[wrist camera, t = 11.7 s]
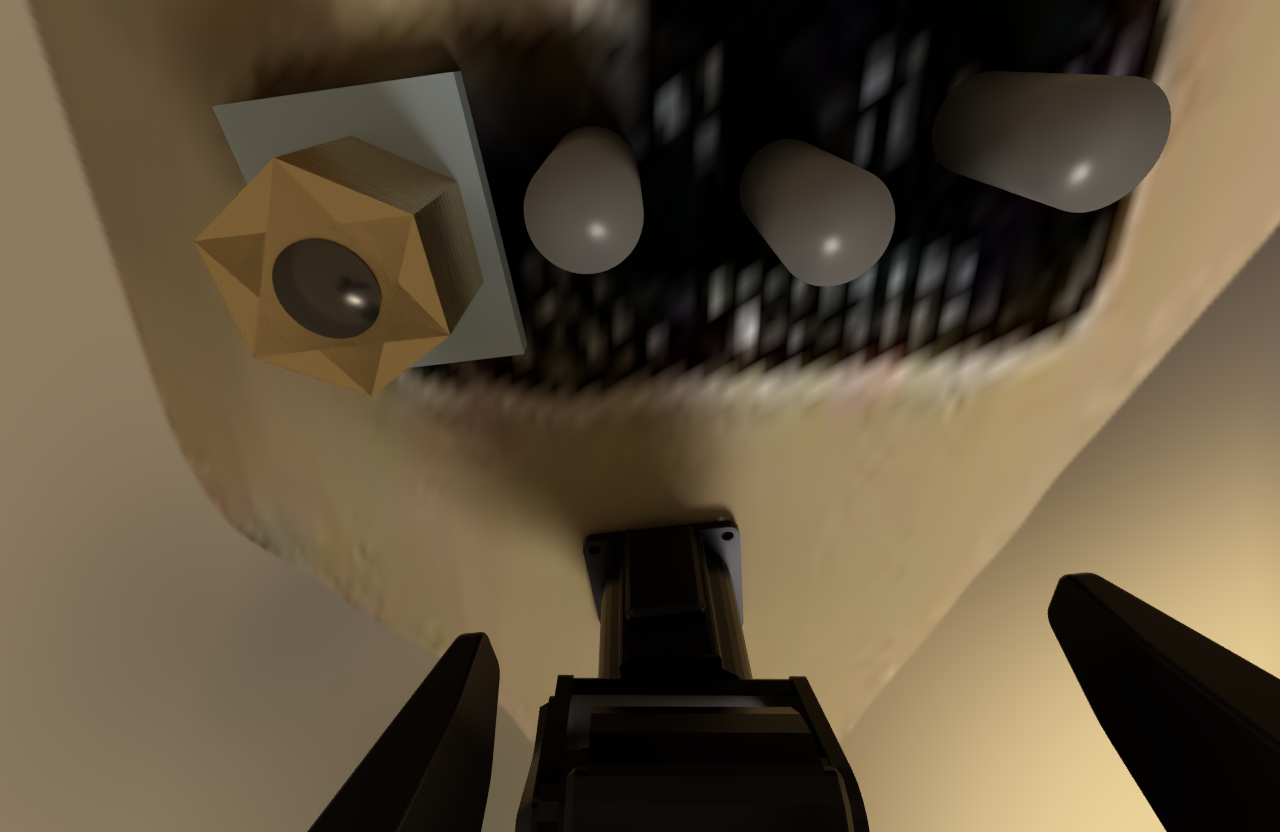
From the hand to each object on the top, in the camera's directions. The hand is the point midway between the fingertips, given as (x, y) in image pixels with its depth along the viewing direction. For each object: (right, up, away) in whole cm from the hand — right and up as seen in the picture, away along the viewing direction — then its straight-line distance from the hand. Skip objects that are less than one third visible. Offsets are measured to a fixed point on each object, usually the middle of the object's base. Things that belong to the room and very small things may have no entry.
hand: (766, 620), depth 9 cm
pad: (-9, +9, +9) cm, 15 cm away
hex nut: (-9, +8, +8) cm, 15 cm away
